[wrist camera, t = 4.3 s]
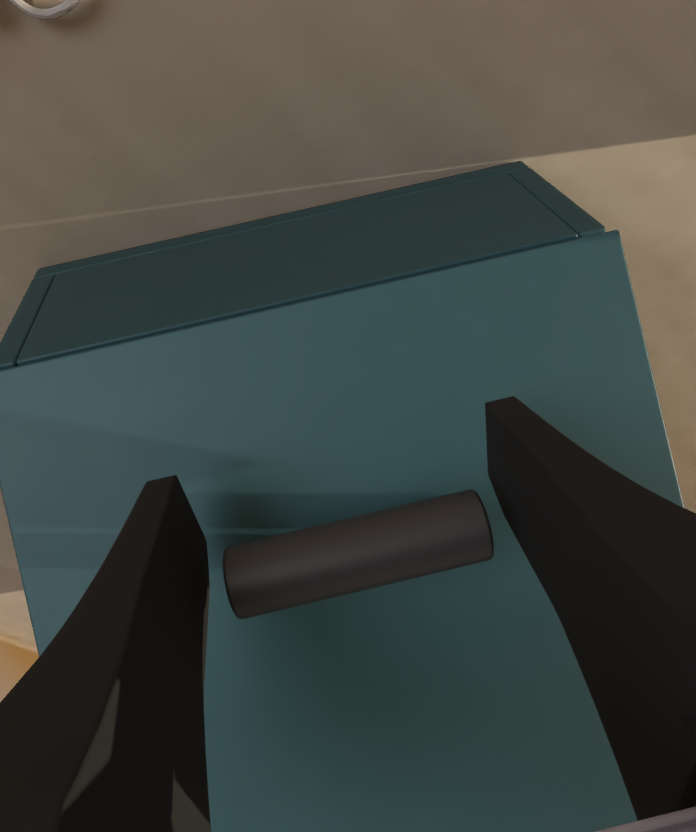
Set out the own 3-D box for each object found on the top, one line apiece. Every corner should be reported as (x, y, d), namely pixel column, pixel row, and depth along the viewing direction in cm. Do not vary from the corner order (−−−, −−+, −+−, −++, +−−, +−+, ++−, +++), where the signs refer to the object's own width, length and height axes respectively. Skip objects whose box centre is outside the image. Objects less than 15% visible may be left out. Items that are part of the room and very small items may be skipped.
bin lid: (750, 836, 16) (884, 967, 12) (127, 993, 15) (59, 1180, 12) (609, 236, 16) (695, 176, 12) (-12, 377, 15) (-126, 362, 12)
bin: (520, 483, 29) (575, 584, 25) (186, 562, 29) (180, 679, 24) (521, 159, 20) (607, 226, 16) (37, 268, 20) (-15, 368, 15)
